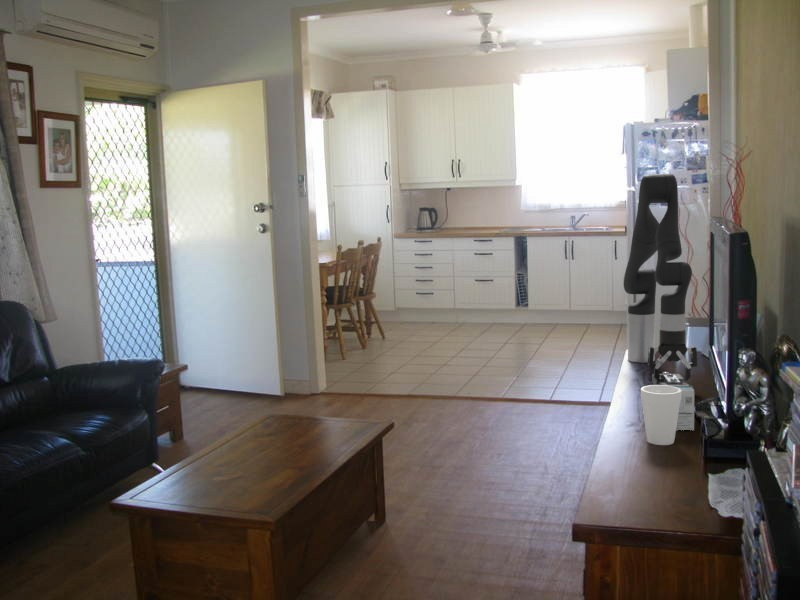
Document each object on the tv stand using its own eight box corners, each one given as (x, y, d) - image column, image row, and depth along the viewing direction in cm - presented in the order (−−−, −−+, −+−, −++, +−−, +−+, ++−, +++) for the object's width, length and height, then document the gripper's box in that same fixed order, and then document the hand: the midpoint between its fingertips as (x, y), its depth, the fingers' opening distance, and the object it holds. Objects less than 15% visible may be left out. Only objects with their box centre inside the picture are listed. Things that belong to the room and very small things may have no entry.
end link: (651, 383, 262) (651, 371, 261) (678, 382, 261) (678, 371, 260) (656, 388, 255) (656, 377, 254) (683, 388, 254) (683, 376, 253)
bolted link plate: (663, 387, 257) (663, 373, 256) (674, 387, 256) (674, 373, 256) (668, 394, 247) (668, 380, 247) (680, 395, 247) (680, 380, 246)
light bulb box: (688, 423, 216) (689, 383, 215) (695, 431, 209) (695, 389, 208) (646, 424, 217) (647, 384, 216) (652, 431, 210) (652, 390, 209)
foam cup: (675, 449, 195) (675, 395, 194) (636, 444, 200) (636, 391, 199) (684, 438, 203) (685, 387, 202) (646, 433, 208) (646, 383, 207)
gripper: (693, 325, 252) (693, 377, 254) (646, 326, 254) (645, 377, 256) (700, 329, 245) (699, 383, 247) (650, 330, 246) (650, 383, 248)
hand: (671, 380), depth 251 cm, fingers open, 8 cm apart
